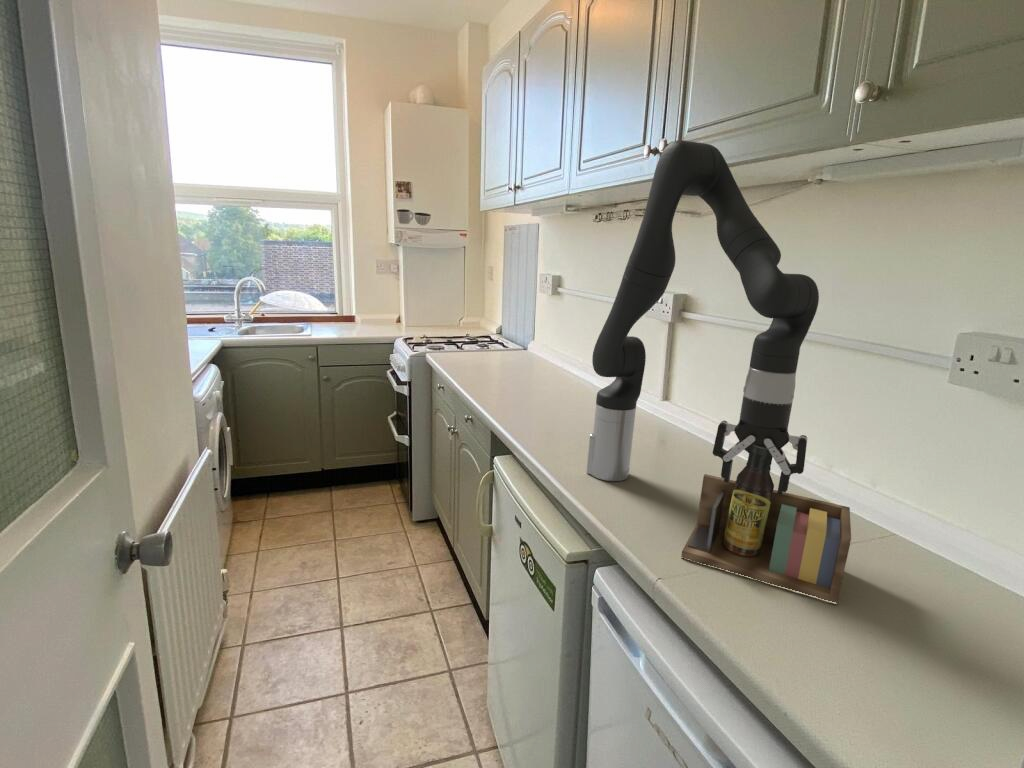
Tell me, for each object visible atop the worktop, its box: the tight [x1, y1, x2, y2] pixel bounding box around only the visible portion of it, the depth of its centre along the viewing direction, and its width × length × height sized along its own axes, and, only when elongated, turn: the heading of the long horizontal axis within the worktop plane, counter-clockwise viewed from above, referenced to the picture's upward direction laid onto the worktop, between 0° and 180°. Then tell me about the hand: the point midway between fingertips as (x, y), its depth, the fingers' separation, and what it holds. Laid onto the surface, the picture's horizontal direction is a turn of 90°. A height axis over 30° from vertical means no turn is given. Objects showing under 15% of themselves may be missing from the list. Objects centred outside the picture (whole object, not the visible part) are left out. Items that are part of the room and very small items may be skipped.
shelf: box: [680, 473, 852, 604], centre depth 97 cm, size 24×13×12 cm, turn 60°
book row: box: [769, 504, 840, 588], centre depth 94 cm, size 9×9×9 cm
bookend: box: [688, 490, 725, 553], centre depth 102 cm, size 4×9×8 cm, turn 150°
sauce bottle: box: [723, 445, 775, 557], centre depth 98 cm, size 6×6×20 cm
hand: (752, 486), depth 97 cm, fingers open, 8 cm apart
